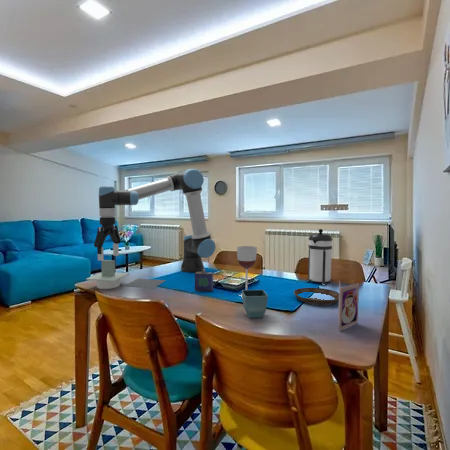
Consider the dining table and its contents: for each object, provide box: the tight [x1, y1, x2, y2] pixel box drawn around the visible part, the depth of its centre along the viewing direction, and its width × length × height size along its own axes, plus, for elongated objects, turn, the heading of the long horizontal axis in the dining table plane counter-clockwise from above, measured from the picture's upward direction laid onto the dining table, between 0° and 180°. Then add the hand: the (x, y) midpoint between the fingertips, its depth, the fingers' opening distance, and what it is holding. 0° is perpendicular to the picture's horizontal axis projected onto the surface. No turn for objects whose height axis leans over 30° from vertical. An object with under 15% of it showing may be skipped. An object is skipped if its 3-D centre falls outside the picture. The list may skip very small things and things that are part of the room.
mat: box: [122, 278, 167, 289], centre depth 160 cm, size 17×17×1 cm
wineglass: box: [236, 245, 258, 297], centre depth 139 cm, size 9×10×23 cm
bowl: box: [96, 278, 121, 290], centre depth 154 cm, size 11×11×5 cm
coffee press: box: [305, 228, 334, 285], centre depth 167 cm, size 17×16×30 cm
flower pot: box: [241, 289, 269, 319], centre depth 114 cm, size 9×9×9 cm
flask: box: [194, 268, 214, 292], centre depth 148 cm, size 9×3×11 cm, turn 88°
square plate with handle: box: [85, 259, 130, 281], centre depth 154 cm, size 15×15×9 cm
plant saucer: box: [293, 287, 339, 306], centre depth 135 cm, size 21×21×3 cm
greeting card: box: [337, 279, 360, 331], centre depth 106 cm, size 11×7×15 cm, turn 126°
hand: (108, 258), depth 154 cm, fingers open, 13 cm apart
